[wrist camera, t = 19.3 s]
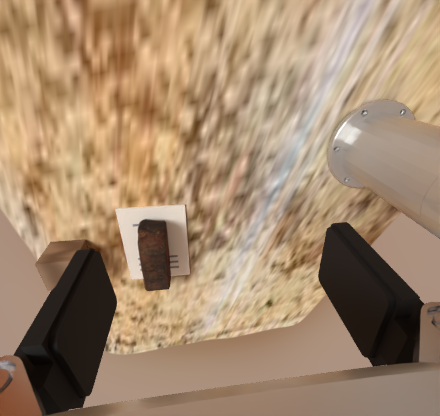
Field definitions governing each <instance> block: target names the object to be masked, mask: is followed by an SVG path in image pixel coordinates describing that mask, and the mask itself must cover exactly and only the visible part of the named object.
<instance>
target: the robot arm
mask: <svg viewBox="0 0 440 416" xmlns="http://www.w3.org/2000/svg"><path fill="white" fill-rule="evenodd" d="M327 160H328V166H329V169H330V171H331V173H332V174H333V176H334V177H335V178H336V179H337V180H338V181H340V182H341V183H342V184H344V185H346V186H349V187H354V188H365V187H367V188H368V189H370V190H371V191H373V192H374V193H376V194H377V195H378V196H380V197H381V198H383V199H384V200H385V201H387V202H388V203H390V204H391V205H392V206H394V207H395V208H397V209H398V210H399V211H401V212H402V213H404V214H405V215H406V216H408V217H410V218H411V219H412V220H414V221H415V222H416V223H418V224H419V225H421V226H422V227H424V228H425V229H427V230H428V231H429V232H431V233H432V234H434V235H435V236H436V237H438V238H439V239H440V127H438V126H434V125H431V124H427V123H423V122H420V121H416V120H415V118H414V115H413V113H412V112H411V111H410V109H409V108H408V107H406V106H405V105H404V104H402V103H399V102H397V101H393V100H375V101H371V102H368V103H366V104H363V105H361V106H360V107H358V108H356V109H355V110H353V111H352V112H351V113H350V114H349V115H347V116H346V117H345V118H344V119H343V121H342V122H341V123H340V124H339V125H338V127H337V129H336V130H335V132H334V133H333V136H332V138H331V140H330V143H329V147H328V153H327ZM318 277H319V281H320V284H321V285H322V287H323V289H324V290H325V292H326V294H327V295H328V297H329V299H330V300H331V302H332V304H333V306H334V307H335V309H336V311H337V312H338V314H339V316H340V317H341V319H342V321H343V323H344V325H345V326H346V328H347V330H348V331H349V333H350V335H351V337H352V338H353V340H354V342H355V343H356V345H357V347H358V348H359V350H360V352H361V354H362V355H363V356H364V357H368V359H369V360H370V362H371V364H372V365H373V367H367V368H359V369H351V370H344V371H337V372H329V373H321V374H314V375H306V376H300V377H293V378H285V379H278V380H270V381H263V382H256V383H249V384H241V385H234V386H227V387H220V388H213V389H206V390H199V391H192V392H185V393H179V394H172V395H165V396H158V397H152V398H144V399H137V400H131V401H124V402H117V403H112V404H105V405H100V406H93V407H88V408H83V404H84V401H85V398H86V396H89V395H90V394H91V392H92V389H93V386H94V382H95V379H96V375H97V372H98V368H99V365H100V362H101V358H102V355H103V351H104V348H105V344H106V341H107V337H108V334H109V331H110V327H111V324H112V320H113V317H114V313H115V310H116V306H117V299H116V296H115V293H114V290H113V287H112V284H111V282H110V279H109V276H108V273H107V271H106V268H105V265H104V262H103V260H102V257H101V254H100V252H98V251H97V252H96V251H95V250H94V249H93V248H91V249H81V250H77V251H76V252H75V254H74V255H73V257H72V259H71V261H70V262H69V264H68V266H67V267H66V269H65V271H64V273H63V274H62V276H61V278H60V279H59V281H58V283H57V285H56V286H55V287H54V288H53V290H52V291H51V292H50V294H49V296H48V297H47V299H46V301H45V303H44V304H43V306H42V308H41V309H40V311H39V313H38V314H37V316H36V318H35V320H34V321H33V323H32V325H31V326H30V328H29V330H28V331H27V333H26V335H25V337H24V338H23V340H22V342H21V343H20V345H19V347H18V348H17V350H16V352H15V354H14V355H9V356H3V357H0V416H440V302H430V303H426V304H424V303H423V302H422V301H421V300H420V299H419V298H420V297H419V296H418V295H417V294H416V293H415V292H414V291H413V290H412V289H411V288H410V287H409V286H408V285H407V283H406V282H405V281H404V280H403V279H402V278H401V277H400V276H399V275H398V274H397V273H396V272H395V271H394V270H393V269H392V268H391V267H390V266H389V265H388V264H387V263H386V262H385V261H384V260H383V259H382V258H381V257H380V256H379V254H377V252H376V251H375V250H374V249H373V248H372V247H371V246H370V245H369V244H368V243H367V242H366V241H365V240H364V239H363V238H362V237H361V236H360V235H359V234H358V233H357V232H356V231H355V230H354V229H353V227H352V226H351V225H350V224H349V223H347V222H343V223H333V224H332V225H331V227H329V228H327V231H326V237H325V242H324V247H323V253H322V258H321V263H320V269H319V274H318ZM381 365H385V366H381ZM374 366H376V367H374ZM75 408H81V409H75ZM69 409H75V410H69ZM68 410H69V411H68Z"/></svg>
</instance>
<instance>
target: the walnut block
mask: <svg viewBox="0 0 440 416" xmlns="http://www.w3.org/2000/svg"><path fill="white" fill-rule="evenodd" d="M81 249H88V246H87V243H86V240H85V239H84V240H72V241H59V242H50V244H49V245H48V247H47V248H46V250H45V251H44V252H43V254H42V255H41V257H40V258H39V259H38V261H37V262H36V264H35V265H36V267H37V269H38V272H39V274H40V276H41V278H42V280H43V282H44V284H45V286H46V288H47V290H53V288H54V287H55V286H56V285H57V283H58V281H59V279H60V278H61V276H62V274H63V273H64V271H65V269H66V267H67V266H68V264H69V262H70V261H71V259H72V257H73V255H74V254H75V252H76V251H77V250H81Z"/></svg>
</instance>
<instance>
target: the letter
mask: <svg viewBox="0 0 440 416" xmlns="http://www.w3.org/2000/svg"><path fill="white" fill-rule="evenodd" d="M115 210H116V214H117V219H118V223H119V228H120V232H121V236H122V241H123V245H124V249H125V254H126V258H127V263H128V267H129V271H130V276H131V280H132V279H143V274H142V269H141V263H140V257H139V250H138V226H139V222H140V221H142V220H144V219H147V220H156V221H158V220H159V221H163V220H164V221H165V222H166V224H167V234H168V245H169V256H170V270H171V276H178V275H189V274H190V267H189V254H188V240H187V226H186V213H185V204H182V205H165V206H147V207H130V208H116V209H115Z"/></svg>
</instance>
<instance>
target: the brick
mask: <svg viewBox="0 0 440 416" xmlns="http://www.w3.org/2000/svg"><path fill="white" fill-rule="evenodd" d="M138 250H139V257H140V263H141V269H142V274H143V281H144V286H145V289H146V290H147V291H154V290H164V289H169V287H170V280H171V270H170V256H169V245H168V234H167V224H166V222H165V221H164V220H163V221H159V220H158V221H156V220H147V219H144V220H142V221H140V222H139V226H138Z"/></svg>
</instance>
